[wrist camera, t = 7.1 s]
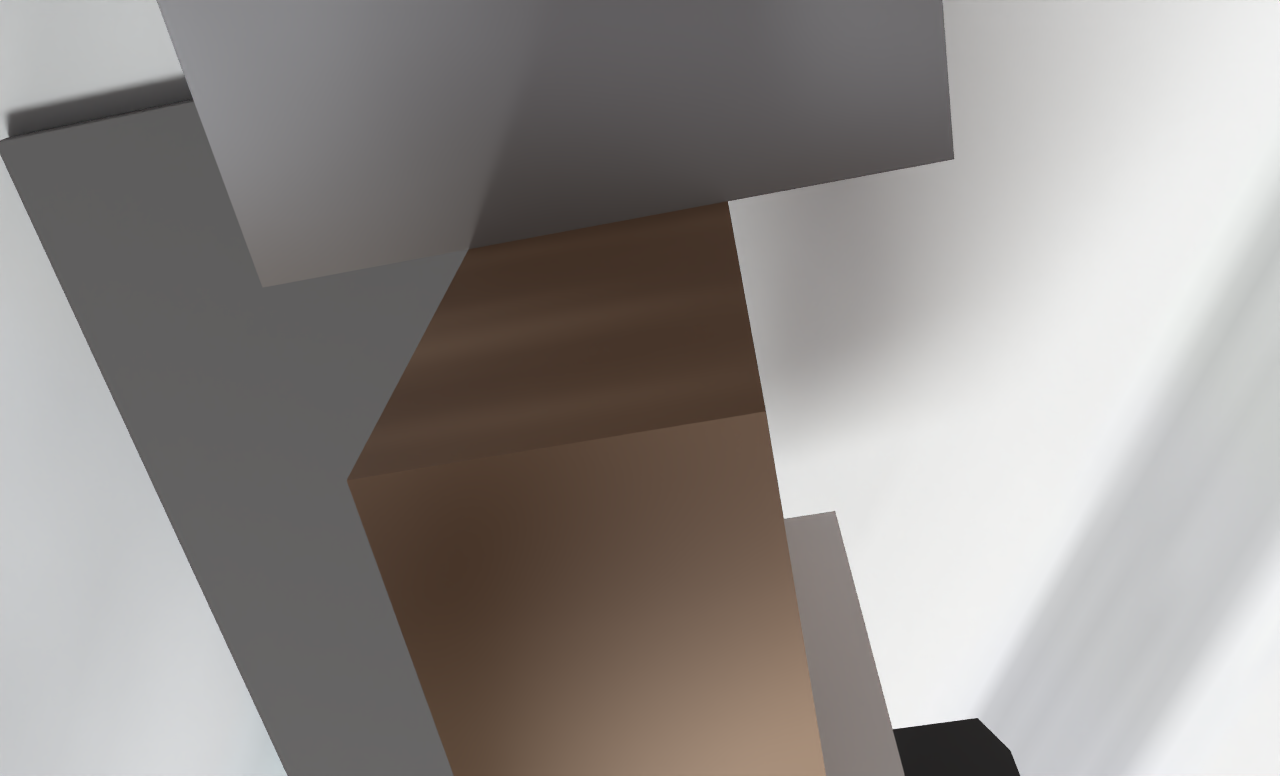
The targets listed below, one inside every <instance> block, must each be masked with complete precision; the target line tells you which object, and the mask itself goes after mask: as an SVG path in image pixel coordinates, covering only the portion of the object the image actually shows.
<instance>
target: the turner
mask: <svg viewBox="0 0 1280 776" xmlns="http://www.w3.org/2000/svg"><path fill="white" fill-rule="evenodd" d="M157 3H158V5H159V8H160V11H161V13H162V16H163V19H164V22H165V24H166V27H167V30H168V32H169V35H170V38H171V41H172V43H173V46H174V49H175V51H176V54H177V57H178V60H179V62H180V65H181V68H182V70H183V73H184V76H185V78H186V81H187V84H188V87H189V89H190V92H191V95H192V97H193V100H194V103H195V106H196V108H197V111H198V114H199V116H200V119H201V122H202V125H203V127H204V130H205V133H206V135H207V138H208V141H209V144H210V146H211V149H212V152H213V154H214V157H215V160H216V163H217V165H218V168H219V171H220V173H221V176H222V179H223V182H224V184H225V187H226V190H227V192H228V195H229V198H230V201H231V203H232V206H233V209H234V211H235V214H236V217H237V220H238V222H239V225H240V228H241V230H242V233H243V236H244V238H245V241H246V244H247V247H248V249H249V252H250V255H251V257H252V260H253V263H254V266H255V268H256V271H257V274H258V276H259V279H260V282H261V285H262V287H268V286H274V285H279V284H284V283H290V282H295V281H301V280H306V279H311V278H317V277H322V276H328V275H333V274H338V273H344V272H349V271H354V270H360V269H365V268H371V267H376V266H381V265H387V264H392V263H398V262H403V261H408V260H414V259H419V258H424V257H430V256H435V255H441V254H446V253H451V252H457V251H462V250H468V251H467V253H466V255H465V257H464V259H463V261H462V263H461V265H460V267H459V268H458V270H457V272H456V274H455V276H454V278H453V280H452V282H451V284H450V285H449V287H448V289H447V291H446V293H445V295H444V297H443V299H442V301H441V302H440V304H439V306H438V308H437V310H436V312H435V314H434V316H433V318H432V319H431V321H430V323H429V325H428V327H427V329H426V331H425V333H424V335H423V337H422V338H421V340H420V342H419V344H418V346H417V348H416V350H415V352H414V354H413V355H412V357H411V359H410V361H409V363H408V365H407V367H406V369H405V371H404V372H403V374H402V376H401V378H400V380H399V382H398V384H397V386H396V388H395V389H394V391H393V393H392V395H391V397H390V399H389V401H388V403H387V405H386V407H385V408H384V410H383V412H382V414H381V416H380V418H379V420H378V422H377V424H376V425H375V427H374V429H373V431H372V433H371V435H370V437H369V439H368V441H367V442H366V444H365V446H364V448H363V450H362V452H361V454H360V456H359V458H358V459H357V461H356V463H355V465H354V467H353V469H352V471H351V473H350V475H349V477H348V478H347V483H348V486H349V489H350V491H351V494H352V497H353V500H354V502H355V505H356V508H357V511H358V513H359V516H360V519H361V522H362V525H363V527H364V530H365V533H366V536H367V538H368V541H369V544H370V547H371V549H372V552H373V555H374V558H375V560H376V563H377V566H378V569H379V571H380V574H381V577H382V580H383V582H384V585H385V588H386V591H387V593H388V596H389V599H390V602H391V604H392V607H393V610H394V613H395V615H396V618H397V621H398V624H399V626H400V629H401V632H402V635H403V638H404V640H405V643H406V646H407V649H408V651H409V654H410V657H411V660H412V662H413V665H414V668H415V671H416V673H417V676H418V679H419V682H420V684H421V687H422V690H423V693H424V695H425V698H426V701H427V704H428V706H429V709H430V712H431V715H432V717H433V720H434V723H435V726H436V728H437V731H438V734H439V737H440V739H441V742H442V745H443V748H444V750H445V753H446V756H447V759H448V762H449V764H450V767H451V770H452V773H453V775H454V776H826V772H825V766H824V760H823V754H822V747H821V741H820V735H819V729H818V723H817V717H816V711H815V705H814V699H813V693H812V687H811V681H810V675H809V669H808V663H807V657H806V651H805V645H804V639H803V633H802V627H801V621H800V615H799V609H798V603H797V597H796V591H795V585H794V579H793V573H792V566H791V560H790V554H789V548H788V542H787V536H786V530H785V524H784V518H783V512H782V506H781V500H780V494H779V488H778V482H777V476H776V470H775V464H774V458H773V452H772V446H771V440H770V434H769V428H768V422H767V416H766V410H765V404H764V399H763V393H762V388H761V382H760V377H759V371H758V366H757V360H756V355H755V349H754V344H753V338H752V333H751V327H750V322H749V316H748V311H747V305H746V300H745V294H744V289H743V283H742V278H741V272H740V267H739V261H738V256H737V250H736V245H735V239H734V234H733V228H732V223H731V217H730V212H729V206H728V201H731V200H737V199H742V198H748V197H753V196H758V195H764V194H769V193H775V192H780V191H785V190H791V189H796V188H801V187H807V186H812V185H818V184H823V183H828V182H834V181H839V180H845V179H850V178H855V177H861V176H866V175H871V174H877V173H882V172H888V171H893V170H898V169H904V168H909V167H915V166H920V165H925V164H931V163H936V162H941V161H947V160H952V159H954V152H953V138H952V125H951V111H950V98H949V84H948V71H947V57H946V44H945V30H944V16H943V3H942V0H157Z"/></svg>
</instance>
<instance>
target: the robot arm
mask: <svg viewBox="0 0 1280 776" xmlns="http://www.w3.org/2000/svg"><path fill="white" fill-rule="evenodd" d="M784 524H785V530H786V536H787V542H788V548H789V554H790V560H791V566H792V573H793V579H794V585H795V591H796V597H797V603H798V609H799V615H800V621H801V627H802V633H803V639H804V645H805V651H806V657H807V663H808V669H809V675H810V681H811V687H812V693H813V699H814V705H815V711H816V717H817V723H818V729H819V735H820V741H821V747H822V754H823V760H824V766H825V772H826V776H1020V774H1019V772H1018V769H1017V766H1016V764H1015V761H1014V759H1013V756H1012V754H1011V751H1010V750H1009V749H1008V748H1007V747H1006V746H1005V745H1004V744H1003V743H1002V742H1001V741H1000V740H999V739H998V738H997V737H996V736H995V735H994V734H993V733H992V732H991V731H990V730H989V729H988V728H987V727H986V726H985V725H984V724H983V723H982V722H981V721H980V720H979V719H978V718H975V719H967V720H960V721H952V722H945V723H937V724H930V725H922V726H915V727H907V728H900V729H892V725H891V722H890V718H889V714H888V710H887V706H886V703H885V699H884V695H883V691H882V687H881V684H880V680H879V676H878V672H877V668H876V665H875V661H874V657H873V653H872V650H871V646H870V642H869V638H868V634H867V631H866V627H865V623H864V619H863V615H862V612H861V608H860V604H859V600H858V596H857V593H856V589H855V585H854V581H853V577H852V574H851V570H850V566H849V562H848V558H847V555H846V551H845V547H844V543H843V539H842V536H841V532H840V528H839V524H838V520H837V517H836V513H835V511H833V512H826V513H820V514H813V515H807V516H800V517H794V518H787V519H784Z"/></svg>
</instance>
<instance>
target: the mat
mask: <svg viewBox="0 0 1280 776" xmlns="http://www.w3.org/2000/svg"><path fill="white" fill-rule="evenodd" d="M0 155H1V157H2V159H3V161H4V163H5V165H6V168H7V170H8V172H9V174H10V176H11V178H12V181H13V183H14V185H15V187H16V189H17V191H18V193H19V196H20V198H21V200H22V202H23V204H24V206H25V209H26V211H27V213H28V215H29V217H30V219H31V222H32V224H33V226H34V228H35V230H36V232H37V235H38V237H39V239H40V241H41V243H42V245H43V248H44V250H45V252H46V254H47V256H48V258H49V261H50V263H51V265H52V267H53V269H54V271H55V274H56V276H57V278H58V280H59V282H60V284H61V287H62V289H63V291H64V293H65V295H66V297H67V299H68V302H69V304H70V306H71V308H72V310H73V312H74V315H75V317H76V319H77V321H78V323H79V325H80V328H81V330H82V332H83V334H84V336H85V338H86V341H87V343H88V345H89V347H90V349H91V351H92V354H93V356H94V358H95V360H96V362H97V364H98V367H99V369H100V371H101V373H102V375H103V377H104V380H105V382H106V384H107V386H108V388H109V390H110V392H111V395H112V397H113V399H114V401H115V403H116V405H117V408H118V410H119V412H120V414H121V416H122V418H123V421H124V423H125V425H126V427H127V429H128V431H129V434H130V436H131V438H132V440H133V442H134V444H135V447H136V449H137V451H138V453H139V455H140V457H141V460H142V462H143V464H144V466H145V468H146V470H147V473H148V475H149V477H150V479H151V481H152V483H153V486H154V488H155V490H156V492H157V494H158V496H159V498H160V501H161V503H162V505H163V507H164V509H165V511H166V514H167V516H168V518H169V520H170V522H171V524H172V527H173V529H174V531H175V533H176V535H177V537H178V540H179V542H180V544H181V546H182V548H183V550H184V553H185V555H186V557H187V559H188V561H189V563H190V566H191V568H192V570H193V572H194V574H195V576H196V579H197V581H198V583H199V585H200V587H201V589H202V591H203V594H204V596H205V598H206V600H207V602H208V604H209V607H210V609H211V611H212V613H213V615H214V617H215V620H216V622H217V624H218V626H219V628H220V630H221V633H222V635H223V637H224V639H225V641H226V643H227V646H228V648H229V650H230V652H231V654H232V656H233V659H234V661H235V663H236V665H237V667H238V669H239V672H240V674H241V676H242V678H243V680H244V682H245V685H246V687H247V689H248V691H249V693H250V695H251V697H252V700H253V702H254V704H255V706H256V708H257V710H258V713H259V715H260V717H261V719H262V721H263V723H264V726H265V728H266V730H267V732H268V734H269V736H270V739H271V741H272V743H273V745H274V747H275V749H276V752H277V754H278V756H279V758H280V760H281V762H282V765H283V767H284V769H285V771H286V773H287V775H288V776H454V775H453V773H452V770H451V767H450V764H449V762H448V759H447V756H446V753H445V750H444V748H443V745H442V742H441V739H440V737H439V734H438V731H437V728H436V726H435V723H434V720H433V717H432V715H431V712H430V709H429V706H428V704H427V701H426V698H425V695H424V693H423V690H422V687H421V684H420V682H419V679H418V676H417V673H416V671H415V668H414V665H413V662H412V660H411V657H410V654H409V651H408V649H407V646H406V643H405V640H404V638H403V635H402V632H401V629H400V626H399V624H398V621H397V618H396V615H395V613H394V610H393V607H392V604H391V602H390V599H389V596H388V593H387V591H386V588H385V585H384V582H383V580H382V577H381V574H380V571H379V569H378V566H377V563H376V560H375V558H374V555H373V552H372V549H371V547H370V544H369V541H368V538H367V536H366V533H365V530H364V527H363V525H362V522H361V519H360V516H359V513H358V511H357V508H356V505H355V502H354V500H353V497H352V494H351V491H350V489H349V486H348V483H347V478H348V477H349V475H350V473H351V471H352V469H353V467H354V465H355V463H356V461H357V459H358V458H359V456H360V454H361V452H362V450H363V448H364V446H365V444H366V442H367V441H368V439H369V437H370V435H371V433H372V431H373V429H374V427H375V425H376V424H377V422H378V420H379V418H380V416H381V414H382V412H383V410H384V408H385V407H386V405H387V403H388V401H389V399H390V397H391V395H392V393H393V391H394V389H395V388H396V386H397V384H398V382H399V380H400V378H401V376H402V374H403V372H404V371H405V369H406V367H407V365H408V363H409V361H410V359H411V357H412V355H413V354H414V352H415V350H416V348H417V346H418V344H419V342H420V340H421V338H422V337H423V335H424V333H425V331H426V329H427V327H428V325H429V323H430V321H431V319H432V318H433V316H434V314H435V312H436V310H437V308H438V306H439V304H440V302H441V301H442V299H443V297H444V295H445V293H446V291H447V289H448V287H449V285H450V284H451V282H452V280H453V278H454V276H455V274H456V272H457V270H458V268H459V267H460V265H461V263H462V261H463V259H464V257H465V255H466V253H467V251H468V250H462V251H457V252H451V253H446V254H441V255H435V256H430V257H424V258H419V259H414V260H408V261H403V262H398V263H392V264H387V265H381V266H376V267H371V268H365V269H360V270H354V271H349V272H344V273H338V274H333V275H328V276H322V277H317V278H311V279H306V280H301V281H295V282H290V283H284V284H279V285H274V286H268V287H262V285H261V282H260V279H259V276H258V274H257V271H256V268H255V266H254V263H253V260H252V257H251V255H250V252H249V249H248V247H247V244H246V241H245V238H244V236H243V233H242V230H241V228H240V225H239V222H238V220H237V217H236V214H235V211H234V209H233V206H232V203H231V201H230V198H229V195H228V192H227V190H226V187H225V184H224V182H223V179H222V176H221V173H220V171H219V168H218V165H217V163H216V160H215V157H214V154H213V152H212V149H211V146H210V144H209V141H208V138H207V135H206V133H205V130H204V127H203V125H202V122H201V119H200V116H199V114H198V111H197V108H196V106H195V103H194V100H193V99H191V100H187V101H182V102H177V103H172V104H167V105H163V106H158V107H153V108H148V109H143V110H139V111H134V112H129V113H124V114H119V115H115V116H110V117H105V118H100V119H95V120H91V121H86V122H81V123H76V124H71V125H66V126H62V127H57V128H52V129H47V130H42V131H38V132H33V133H28V134H23V135H18V136H14V137H9V138H6V139H3V140H1V141H0Z"/></svg>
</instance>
